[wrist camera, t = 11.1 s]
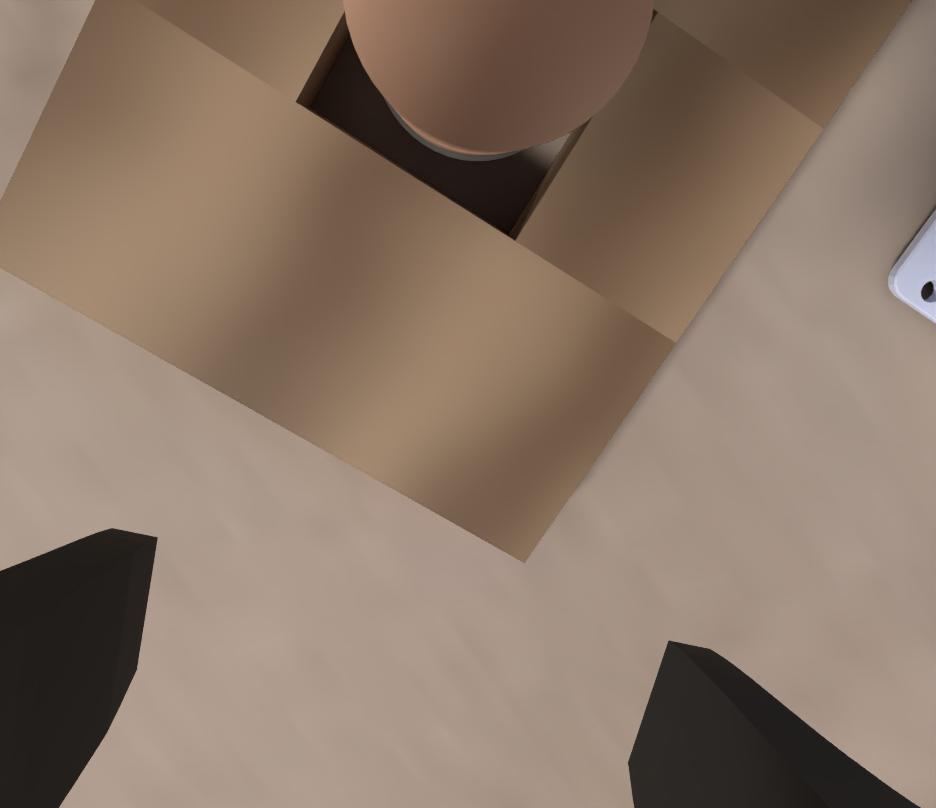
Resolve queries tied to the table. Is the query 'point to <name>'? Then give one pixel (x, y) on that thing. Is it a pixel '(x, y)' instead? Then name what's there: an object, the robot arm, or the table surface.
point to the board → (415, 234)
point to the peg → (496, 66)
